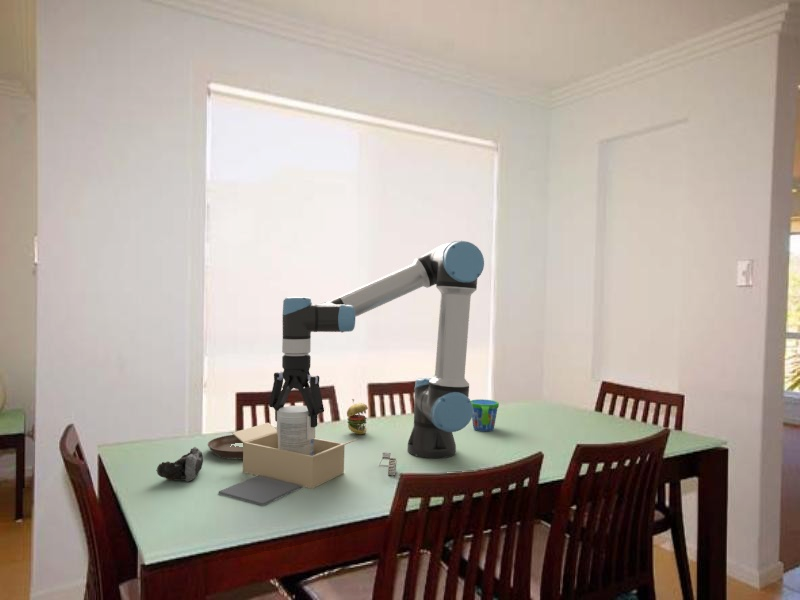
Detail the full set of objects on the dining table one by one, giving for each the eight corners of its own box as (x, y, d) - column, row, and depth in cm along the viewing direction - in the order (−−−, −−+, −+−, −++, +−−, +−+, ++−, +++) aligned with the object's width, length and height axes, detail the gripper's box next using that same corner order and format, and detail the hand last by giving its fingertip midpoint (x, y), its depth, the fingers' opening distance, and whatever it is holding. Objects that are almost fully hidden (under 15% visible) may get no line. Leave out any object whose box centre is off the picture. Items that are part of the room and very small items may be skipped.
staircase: (381, 472, 156) (382, 452, 156) (396, 472, 156) (396, 453, 156) (378, 479, 150) (379, 459, 150) (393, 480, 150) (394, 460, 149)
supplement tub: (319, 464, 151) (319, 410, 151) (285, 470, 146) (286, 414, 146) (304, 455, 159) (305, 403, 159) (272, 460, 154) (272, 407, 154)
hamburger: (362, 437, 190) (363, 402, 190) (342, 434, 193) (343, 400, 192) (370, 431, 198) (371, 398, 197) (351, 429, 200) (352, 396, 200)
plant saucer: (221, 441, 181) (221, 431, 181) (285, 444, 181) (285, 433, 181) (196, 461, 161) (196, 449, 161) (268, 464, 160) (268, 452, 160)
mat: (301, 487, 141) (301, 485, 141) (262, 505, 129) (262, 503, 129) (259, 477, 148) (259, 475, 148) (218, 493, 136) (218, 491, 136)
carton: (356, 475, 151) (357, 438, 151) (325, 491, 139) (326, 451, 139) (267, 456, 166) (267, 422, 166) (231, 469, 154) (232, 432, 154)
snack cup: (470, 423, 214) (471, 396, 214) (498, 425, 212) (499, 398, 212) (467, 433, 199) (468, 405, 199) (497, 436, 197) (498, 407, 197)
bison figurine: (204, 469, 154) (165, 469, 152) (205, 444, 154) (166, 443, 152) (197, 485, 142) (154, 485, 140) (199, 458, 142) (156, 457, 140)
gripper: (338, 355, 150) (337, 438, 150) (274, 350, 160) (273, 427, 161) (321, 358, 143) (320, 445, 144) (255, 352, 154) (255, 433, 154)
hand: (295, 436), depth 152 cm, fingers closed on supplement tub, 10 cm apart
